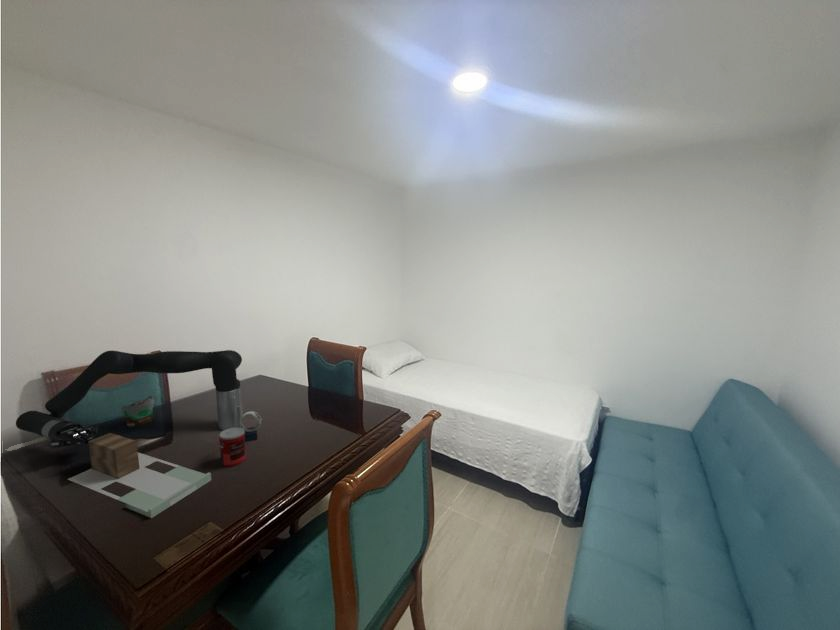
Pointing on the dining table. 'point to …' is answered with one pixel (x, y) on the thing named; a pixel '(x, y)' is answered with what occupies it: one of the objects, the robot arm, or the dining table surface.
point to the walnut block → (114, 455)
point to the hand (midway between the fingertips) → (90, 440)
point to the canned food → (232, 446)
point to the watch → (252, 432)
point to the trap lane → (148, 485)
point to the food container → (139, 412)
